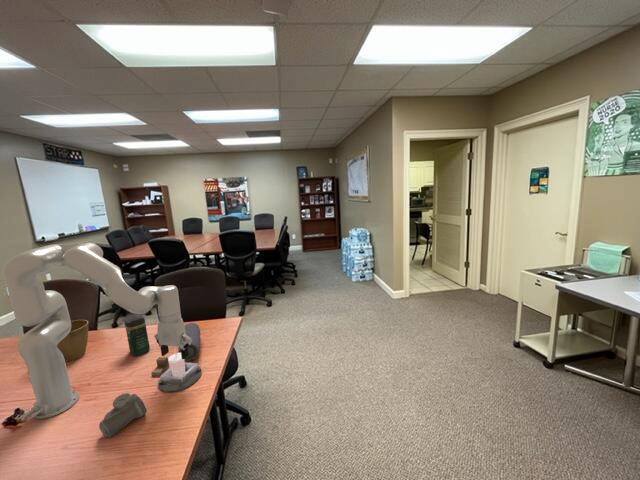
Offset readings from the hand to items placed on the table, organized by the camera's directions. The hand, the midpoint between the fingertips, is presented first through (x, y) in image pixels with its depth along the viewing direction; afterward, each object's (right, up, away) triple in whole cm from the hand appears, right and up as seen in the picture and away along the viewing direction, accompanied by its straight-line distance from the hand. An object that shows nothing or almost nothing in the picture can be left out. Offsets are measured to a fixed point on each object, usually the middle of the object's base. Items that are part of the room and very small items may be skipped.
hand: (175, 355), depth 114 cm
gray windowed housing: (+1, -10, +2) cm, 11 cm away
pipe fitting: (-7, -15, -20) cm, 26 cm away
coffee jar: (-30, -8, +25) cm, 40 cm away
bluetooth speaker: (-4, -7, +23) cm, 24 cm away
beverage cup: (+1, -10, +2) cm, 10 cm away
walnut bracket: (-10, -10, +8) cm, 16 cm away
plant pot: (-61, -10, +22) cm, 65 cm away
